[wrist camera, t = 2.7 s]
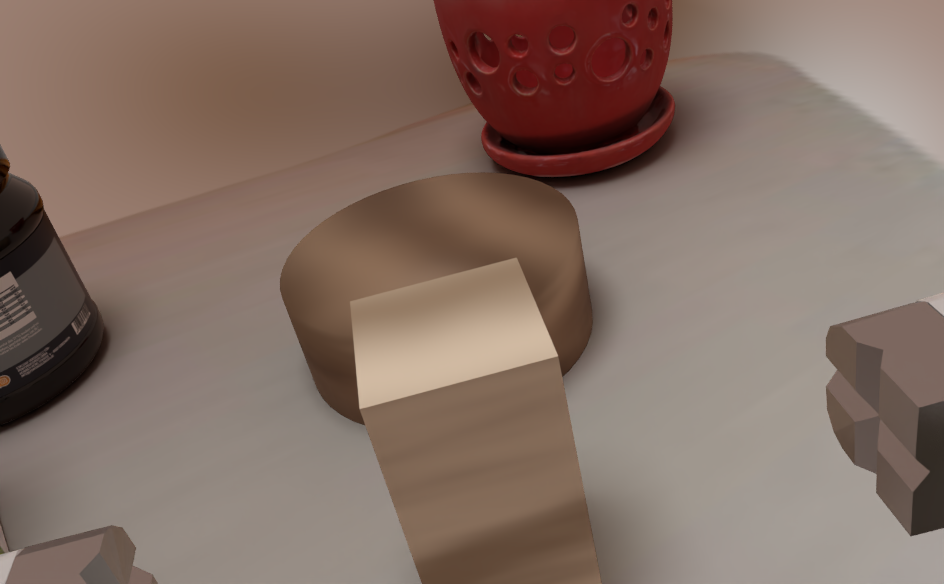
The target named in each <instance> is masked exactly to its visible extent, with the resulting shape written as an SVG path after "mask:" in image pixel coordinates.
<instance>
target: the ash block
mask: <svg viewBox="0 0 944 584" xmlns="http://www.w3.org/2000/svg"><path fill="white" fill-rule="evenodd" d="M350 307H351V319H352V330H353V341H354V352H355V363H356V375H357V386H358V397H359V408H360V412H361V415H362V417H363V420H364V423H365V426H366V429H367V431H368V434H369V437H370V440H371V442H372V445H373V448H374V451H375V454H376V456H377V459H378V462H379V465H380V468H381V470H382V473H383V476H384V479H385V482H386V484H387V487H388V490H389V493H390V496H391V498H392V501H393V504H394V507H395V510H396V512H397V515H398V518H399V521H400V523H401V526H402V529H403V532H404V535H405V537H406V540H407V543H408V546H409V549H410V551H411V554H412V557H413V560H414V563H415V565H416V568H417V571H418V574H419V577H420V579H421V582H422V584H602V583H601V577H600V572H599V567H598V562H597V557H596V551H595V546H594V541H593V536H592V530H591V525H590V520H589V515H588V509H587V504H586V499H585V494H584V489H583V483H582V478H581V473H580V468H579V462H578V457H577V452H576V447H575V442H574V436H573V431H572V426H571V421H570V415H569V410H568V405H567V400H566V394H565V389H564V384H563V379H562V374H561V368H560V363H559V358H558V355H557V352H556V350H555V347H554V345H553V343H552V340H551V338H550V336H549V333H548V331H547V328H546V326H545V324H544V321H543V319H542V317H541V314H540V312H539V309H538V307H537V305H536V302H535V300H534V298H533V295H532V293H531V290H530V288H529V286H528V283H527V281H526V279H525V276H524V274H523V271H522V269H521V267H520V264H519V262H518V260H517V258H513V259H509V260H505V261H501V262H498V263H494V264H490V265H486V266H483V267H479V268H475V269H471V270H467V271H464V272H460V273H456V274H452V275H448V276H445V277H441V278H437V279H433V280H429V281H426V282H422V283H418V284H414V285H411V286H407V287H403V288H399V289H395V290H392V291H388V292H384V293H380V294H376V295H373V296H369V297H365V298H361V299H358V300H354V301H350Z"/></svg>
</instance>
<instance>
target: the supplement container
mask: <svg viewBox="0 0 944 584" xmlns="http://www.w3.org/2000/svg"><path fill="white" fill-rule="evenodd" d="M9 168H10V163H9V160H8V158H7V157H6V155H5V153H4V151H3V149H2V147H1V145H0V425H2V424H5V423H7V422H10V421H12V420H14V419H17V418H19V417H21V416H23V415H25V414H27V413H29V412H31V411H33V410H34V409H36V408H38V407H40V406H41V405H43V404H45V403H46V402H48V401H49V400H51V399H52V398H54V397H55V396H56V395H58V394H59V393H60V392H62V391H63V390H64V389H65V388H67V387H68V386H69V385H70V384H71V383H72V382H73V381H75V380H76V379H77V378H78V377H79V376H80V375H81V373H82V372H83V371H84V370H85V369H86V368H87V366H88V365H89V364H90V362H91V361H92V360H93V358H94V357H95V355H96V353H97V351H98V349H99V347H100V345H101V342H102V338H103V320H102V316H101V313H100V311H99V309H98V307H97V305H96V304H95V302H94V301H93V300H92V299H91V298H90V296H89V294H88V292H87V290H86V288H85V286H84V284H83V282H82V281H81V279H80V277H79V275H78V273H77V271H76V269H75V267H74V265H73V263H72V262H71V260H70V258H69V256H68V254H67V252H66V250H65V248H64V246H63V244H62V243H61V241H60V239H59V237H58V235H57V233H56V231H55V229H54V228H53V225H52V224H51V222H50V220H49V218H48V216H47V214H46V212H45V210H44V206H43V200H42V198H41V196H40V194H39V193H38V191H37V189H36V188H35V187H34V186H33V185H32V184H31V183H30V182H28V181H26V180H24V179H22V178H20V177H18V176H15V175H13V174H11V173H8V171H9Z"/></svg>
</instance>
